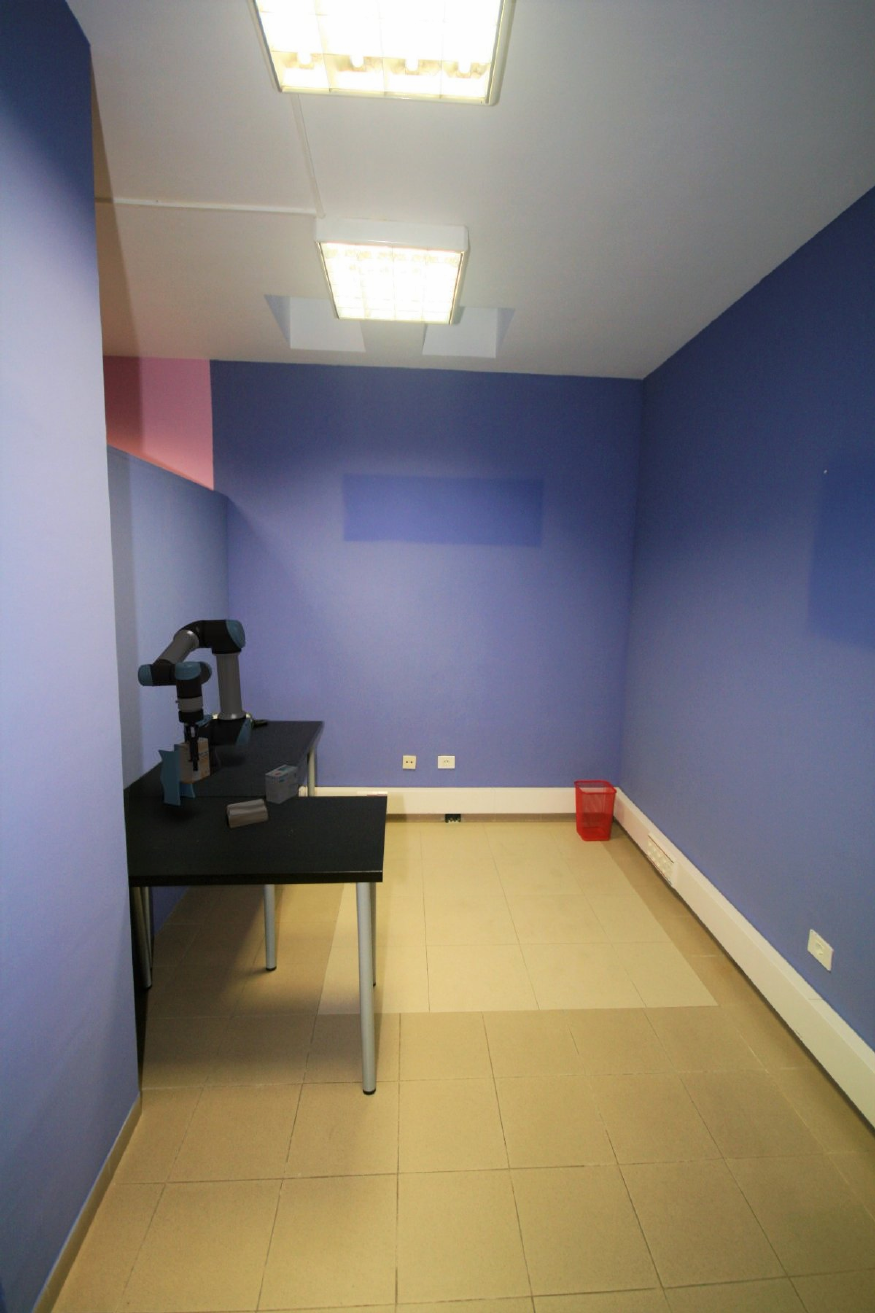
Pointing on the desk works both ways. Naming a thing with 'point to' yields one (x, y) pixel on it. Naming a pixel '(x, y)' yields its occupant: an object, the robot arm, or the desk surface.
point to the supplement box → (185, 756)
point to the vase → (173, 777)
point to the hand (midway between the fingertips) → (195, 774)
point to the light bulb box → (281, 784)
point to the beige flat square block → (247, 813)
